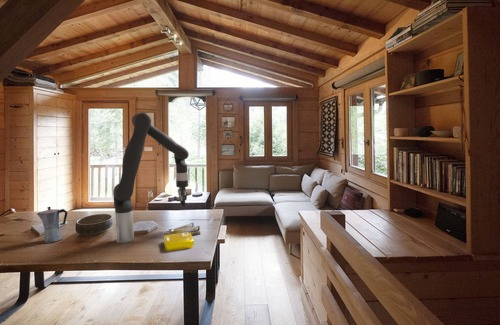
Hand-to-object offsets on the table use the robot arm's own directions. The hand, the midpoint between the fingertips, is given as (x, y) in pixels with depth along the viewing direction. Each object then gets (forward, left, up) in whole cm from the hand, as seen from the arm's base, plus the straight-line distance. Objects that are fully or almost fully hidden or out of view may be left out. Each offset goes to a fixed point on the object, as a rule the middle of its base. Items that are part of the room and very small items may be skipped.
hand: (182, 205), depth 182 cm
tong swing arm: (-2, -8, -13) cm, 16 cm away
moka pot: (-71, +18, -15) cm, 75 cm away
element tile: (-10, -26, -16) cm, 32 cm away
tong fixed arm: (-3, -12, -14) cm, 18 cm away
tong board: (-3, -11, -15) cm, 19 cm away
